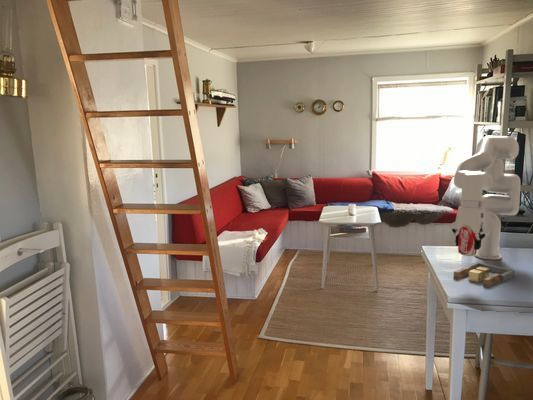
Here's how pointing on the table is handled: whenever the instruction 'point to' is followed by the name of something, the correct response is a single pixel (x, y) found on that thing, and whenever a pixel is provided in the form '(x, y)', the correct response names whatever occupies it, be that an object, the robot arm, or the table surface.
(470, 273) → the tan wooden cube
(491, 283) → the slot rails
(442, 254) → the table surface
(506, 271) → the grey u-shaped frame
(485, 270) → the wooden cube
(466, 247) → the soda can
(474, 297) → the table surface
